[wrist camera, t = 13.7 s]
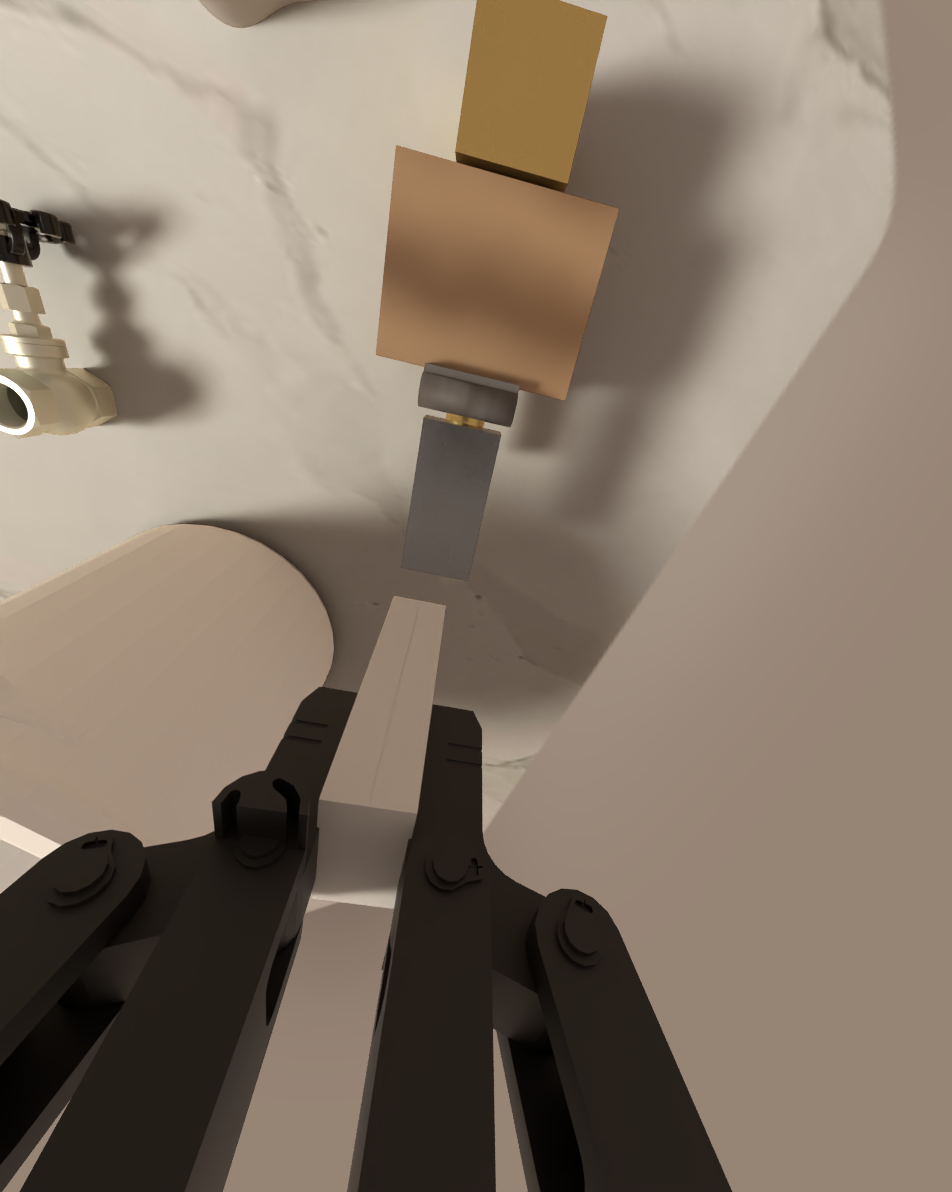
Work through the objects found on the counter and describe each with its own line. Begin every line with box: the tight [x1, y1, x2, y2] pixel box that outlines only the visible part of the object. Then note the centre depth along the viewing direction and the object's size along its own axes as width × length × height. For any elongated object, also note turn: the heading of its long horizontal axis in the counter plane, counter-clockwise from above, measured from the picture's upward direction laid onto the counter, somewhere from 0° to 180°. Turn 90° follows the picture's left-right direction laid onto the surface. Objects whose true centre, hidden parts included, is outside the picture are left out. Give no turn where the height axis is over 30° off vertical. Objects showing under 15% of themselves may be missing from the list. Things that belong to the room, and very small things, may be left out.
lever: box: [401, 415, 501, 581], centre depth 25 cm, size 8×4×1 cm, turn 168°
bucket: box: [0, 524, 334, 894], centre depth 29 cm, size 26×22×25 cm
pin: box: [446, 0, 607, 428], centre depth 25 cm, size 19×5×9 cm, turn 168°
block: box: [376, 145, 619, 427], centre depth 25 cm, size 10×10×11 cm
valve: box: [0, 200, 117, 438], centre depth 27 cm, size 7×7×12 cm
